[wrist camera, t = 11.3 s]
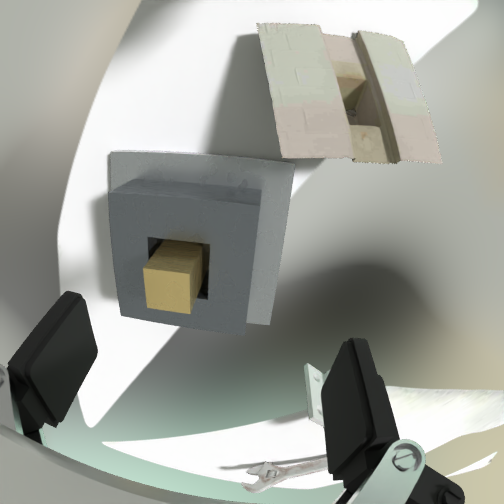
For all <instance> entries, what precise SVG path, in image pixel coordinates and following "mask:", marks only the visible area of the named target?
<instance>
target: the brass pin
mask: <svg viewBox="0 0 504 504" xmlns="http://www.w3.org/2000/svg"><path fill="white" fill-rule="evenodd" d="M209 261H210V244H205V243H196V242H188V241H179V240H171V239H165V240H164V242H163V243H162V244H161V245H160V247H159V248H158V249H157V250H156V252H155V253H154V254H153V256H152V257H151V258H150V260H149V261H148V262H147V264H146V265H145V266H144V268H143V273H144V284H145V293H146V302H147V308H152V309H158V310H165V311H172V312H179V313H186V314H191V311H192V309H193V306H194V303H195V301H196V298H197V295H198V293H199V290H200V287H201V285H202V282H203V279H204V277H205V274H206V271H207V269H208V266H209Z"/></svg>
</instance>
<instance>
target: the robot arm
mask: <svg viewBox="0 0 504 504" xmlns="http://www.w3.org/2000/svg"><path fill="white" fill-rule="evenodd" d="M97 353H98V349H97V345H96V342H95V338H94V334H93V330H92V326H91V322H90V318H89V314H88V310H87V305H86V301H85V299H83V297H82V295H81V294H79V293H75V292H71V291H66V292H65V293H64V294H63V295H62V296H61V297H60V298H59V299H58V301H57V302H56V303H55V304H54V305H53V306H52V308H51V309H50V310H49V311H48V312H47V314H46V315H45V316H44V317H43V318H42V320H41V321H40V322H39V323H38V325H37V326H36V327H35V328H34V329H33V331H32V332H31V333H30V335H29V336H28V337H27V339H26V340H25V341H24V342H23V344H22V345H21V347H20V348H19V349H18V350H17V351H16V353H15V354H14V356H13V357H12V358H11V360H10V361H9V362H8V365H9V366H8V367H7V369H6V368H5V367H4V366H3V365H1V364H0V504H254V503H243V502H233V501H225V500H217V499H210V498H204V497H198V496H192V495H187V494H182V493H178V492H173V491H169V490H164V489H160V488H156V487H152V486H149V485H145V484H141V483H138V482H134V481H131V480H128V479H124V478H122V477H118V476H115V475H113V474H109V473H107V472H104V471H101V470H98V469H96V468H93V467H91V466H88V465H86V464H83V463H80V462H78V461H76V460H73V459H71V458H69V457H67V456H64V455H62V454H60V453H58V452H56V451H54V450H51V449H49V448H48V447H47V444H46V440H45V437H44V433H43V429H42V427H43V425H44V423H47V424H49V425H51V426H53V427H55V428H56V427H57V425H58V423H59V422H62V421H63V420H64V418H65V416H66V414H67V412H68V410H69V408H70V406H71V404H72V402H73V400H74V398H75V396H76V394H77V392H78V390H79V388H80V387H81V385H82V383H83V381H84V379H85V377H86V375H87V374H88V372H89V370H90V368H91V366H92V365H93V363H94V361H95V359H96V357H97ZM321 403H322V412H323V421H324V431H325V441H326V452H327V463H328V472H329V473H330V474H333V480H343V483H344V488H345V489H344V490H343V491H342V493H341V494H340V495H339V496H338V498H337V499H336V500H335V501H334V502H333V503H332V504H464V502H465V496H464V492H463V490H462V489H461V487H460V486H458V485H457V484H455V483H454V482H452V481H451V480H449V479H447V478H446V477H444V476H443V475H441V474H439V473H438V472H436V471H435V470H433V469H432V468H430V467H428V466H427V465H426V464H425V462H426V457H425V453H424V450H423V449H422V448H421V446H420V445H419V444H417V443H416V442H414V441H412V440H408V439H402V440H400V438H399V434H398V430H397V427H396V423H395V419H394V415H393V412H392V408H391V405H390V401H389V398H388V394H387V391H386V388H385V385H384V381H383V379H382V377H381V376H380V375H378V374H377V372H376V368H375V365H374V361H373V358H372V355H371V352H370V349H369V345H368V342H367V340H366V339H361V338H350V339H349V340H348V341H347V342H343V344H342V346H341V348H340V351H339V353H338V355H337V357H336V359H335V362H334V364H333V366H332V368H331V370H330V372H329V374H328V376H327V378H326V380H325V382H324V384H323V386H322V389H321Z"/></svg>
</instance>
